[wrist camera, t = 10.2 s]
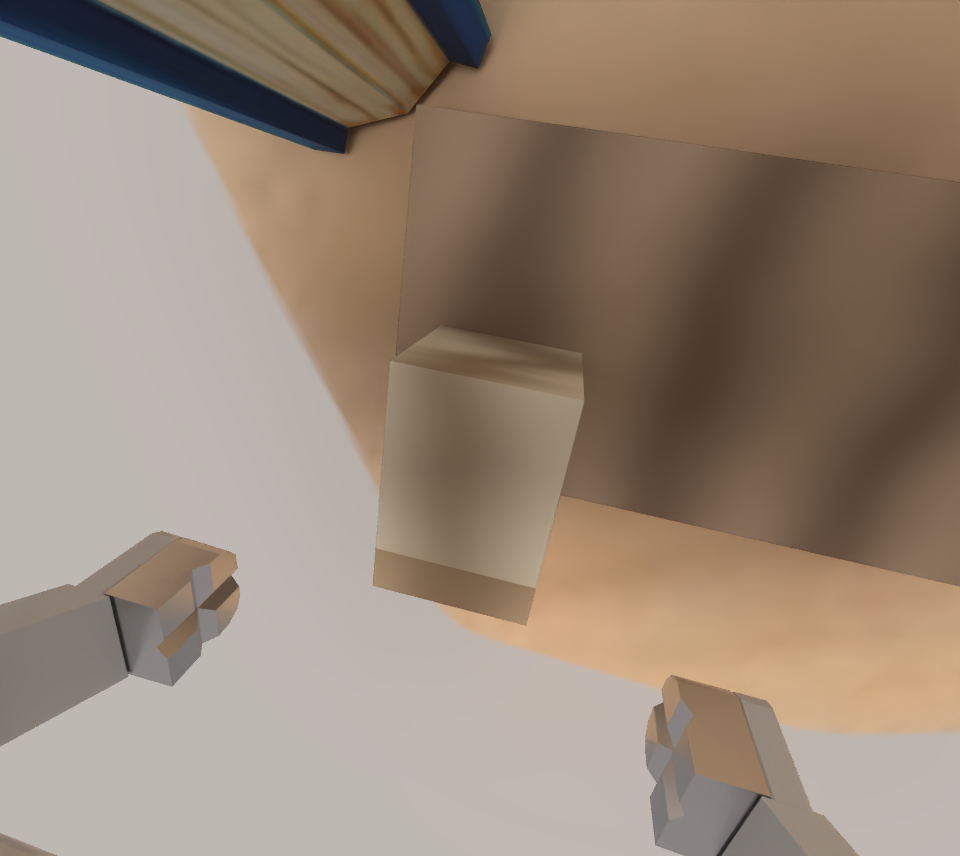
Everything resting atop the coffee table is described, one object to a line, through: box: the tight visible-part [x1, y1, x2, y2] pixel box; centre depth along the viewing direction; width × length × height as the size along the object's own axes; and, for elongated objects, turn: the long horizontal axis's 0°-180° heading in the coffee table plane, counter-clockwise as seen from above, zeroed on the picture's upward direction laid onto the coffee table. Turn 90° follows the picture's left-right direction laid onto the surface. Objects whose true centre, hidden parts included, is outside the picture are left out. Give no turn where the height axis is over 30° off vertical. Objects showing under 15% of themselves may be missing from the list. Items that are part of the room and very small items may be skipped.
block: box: [373, 326, 584, 625], centre depth 17 cm, size 5×8×7 cm, turn 172°
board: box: [396, 105, 960, 586], centre depth 17 cm, size 22×12×2 cm, turn 82°
